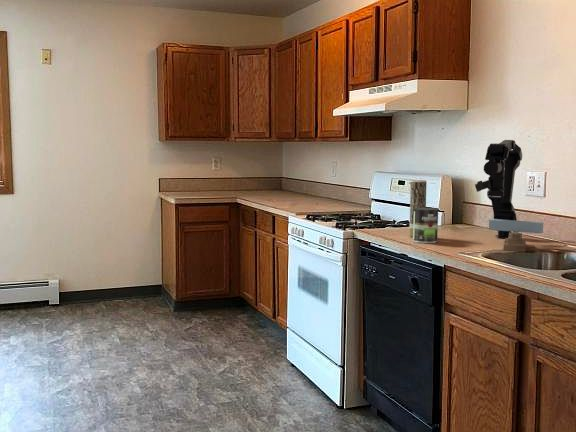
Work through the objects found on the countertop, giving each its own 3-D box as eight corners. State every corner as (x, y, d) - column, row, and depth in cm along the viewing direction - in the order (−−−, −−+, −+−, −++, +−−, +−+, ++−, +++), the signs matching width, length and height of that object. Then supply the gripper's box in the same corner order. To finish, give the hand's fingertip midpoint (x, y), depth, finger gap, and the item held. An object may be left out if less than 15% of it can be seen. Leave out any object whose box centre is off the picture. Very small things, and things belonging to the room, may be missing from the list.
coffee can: (441, 243, 263) (442, 209, 261) (418, 243, 261) (419, 210, 259) (431, 239, 273) (432, 206, 271) (408, 240, 271) (409, 207, 269)
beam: (490, 228, 259) (491, 218, 258) (542, 232, 248) (543, 222, 248) (488, 229, 256) (489, 219, 255) (541, 233, 245) (541, 223, 245)
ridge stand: (504, 243, 262) (505, 227, 262) (525, 244, 260) (526, 228, 259) (503, 250, 246) (504, 233, 245) (525, 251, 243) (526, 234, 242)
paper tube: (422, 235, 282) (424, 179, 279) (426, 238, 275) (428, 180, 272) (407, 235, 282) (409, 179, 279) (411, 238, 275) (412, 181, 272)
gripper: (477, 172, 270) (476, 209, 272) (474, 175, 253) (473, 213, 255) (505, 173, 266) (503, 210, 268) (504, 175, 249) (502, 214, 251)
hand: (495, 212), depth 261 cm, fingers open, 9 cm apart
